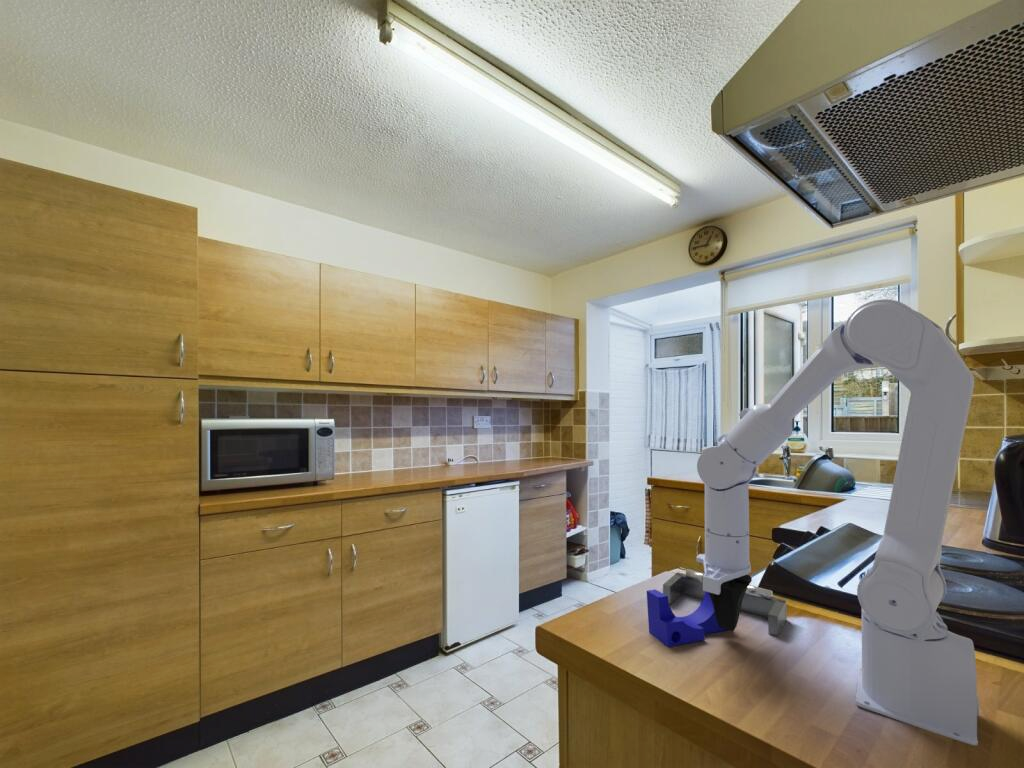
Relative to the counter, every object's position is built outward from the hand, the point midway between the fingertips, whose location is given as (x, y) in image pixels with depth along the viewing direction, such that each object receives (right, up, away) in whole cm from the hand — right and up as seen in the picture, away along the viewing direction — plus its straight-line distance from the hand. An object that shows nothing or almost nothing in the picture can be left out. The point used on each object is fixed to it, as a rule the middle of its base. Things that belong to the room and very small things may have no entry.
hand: (727, 627), depth 65 cm
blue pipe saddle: (-4, -2, +2) cm, 5 cm away
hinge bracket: (+3, -2, +9) cm, 10 cm away
